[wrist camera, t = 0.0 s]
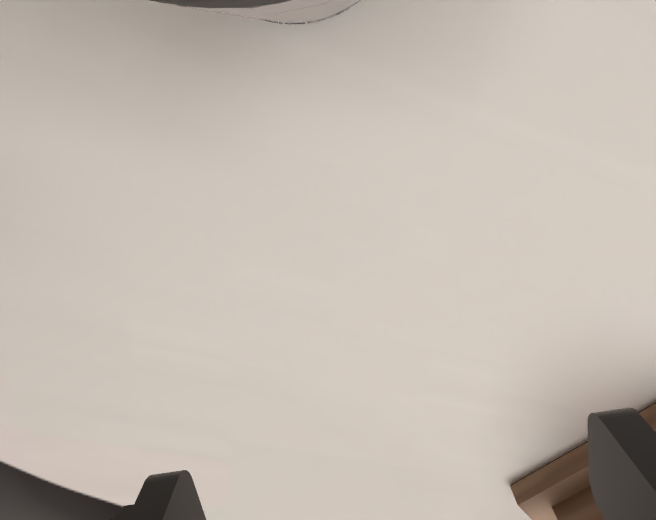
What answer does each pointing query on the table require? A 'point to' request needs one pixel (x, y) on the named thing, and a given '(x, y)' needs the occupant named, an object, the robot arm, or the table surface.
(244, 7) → the robot arm
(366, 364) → the table surface
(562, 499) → the jug stand
